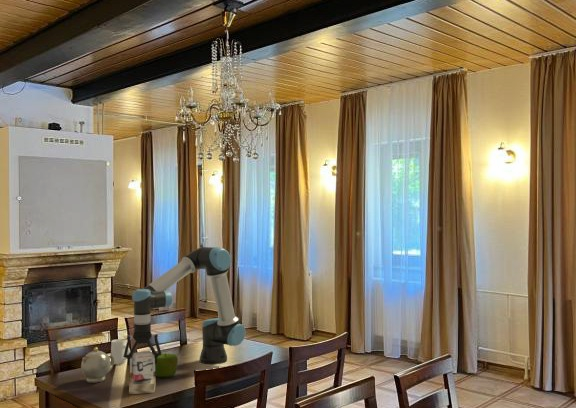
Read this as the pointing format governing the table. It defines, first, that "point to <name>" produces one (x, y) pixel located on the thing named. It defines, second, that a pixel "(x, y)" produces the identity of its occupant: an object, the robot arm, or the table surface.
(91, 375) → the teapot
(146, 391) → the plinth
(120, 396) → the table surface
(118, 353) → the mug
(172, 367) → the apple
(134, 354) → the ink box
